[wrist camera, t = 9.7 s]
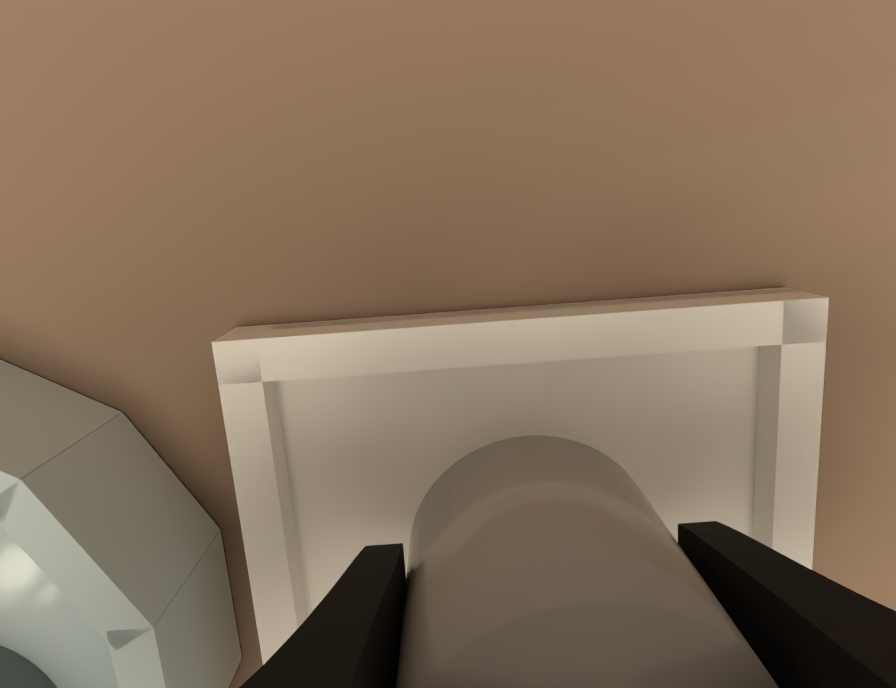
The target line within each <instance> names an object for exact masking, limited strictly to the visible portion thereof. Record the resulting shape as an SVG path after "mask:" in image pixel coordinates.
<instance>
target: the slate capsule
mask: <svg viewBox="0 0 896 688" xmlns="http://www.w3.org/2000/svg"><path fill="white" fill-rule="evenodd" d="M0 688H57V687H56V686H55V685H54V683H53V682H52V681H51V680H50V679H49V677H48V676H47V675H46V674H45V673H44V672H43V671H41V670H40V669H39V668H38V667H37V666H36V665H34V664H33V663H32V662H30V661H29V660H28V659H26V658H24V657H23V656H21V655H19V654H18V653H16V652H14V651H12V650H10V649H7V648H5V647H3V646H0Z"/></svg>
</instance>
